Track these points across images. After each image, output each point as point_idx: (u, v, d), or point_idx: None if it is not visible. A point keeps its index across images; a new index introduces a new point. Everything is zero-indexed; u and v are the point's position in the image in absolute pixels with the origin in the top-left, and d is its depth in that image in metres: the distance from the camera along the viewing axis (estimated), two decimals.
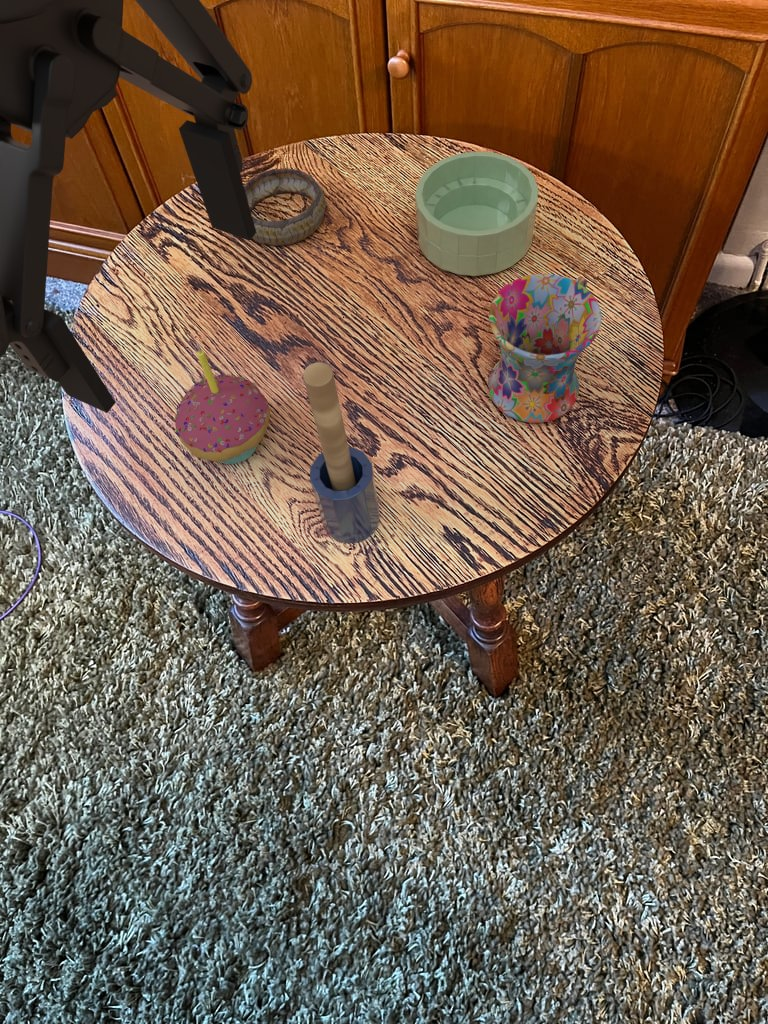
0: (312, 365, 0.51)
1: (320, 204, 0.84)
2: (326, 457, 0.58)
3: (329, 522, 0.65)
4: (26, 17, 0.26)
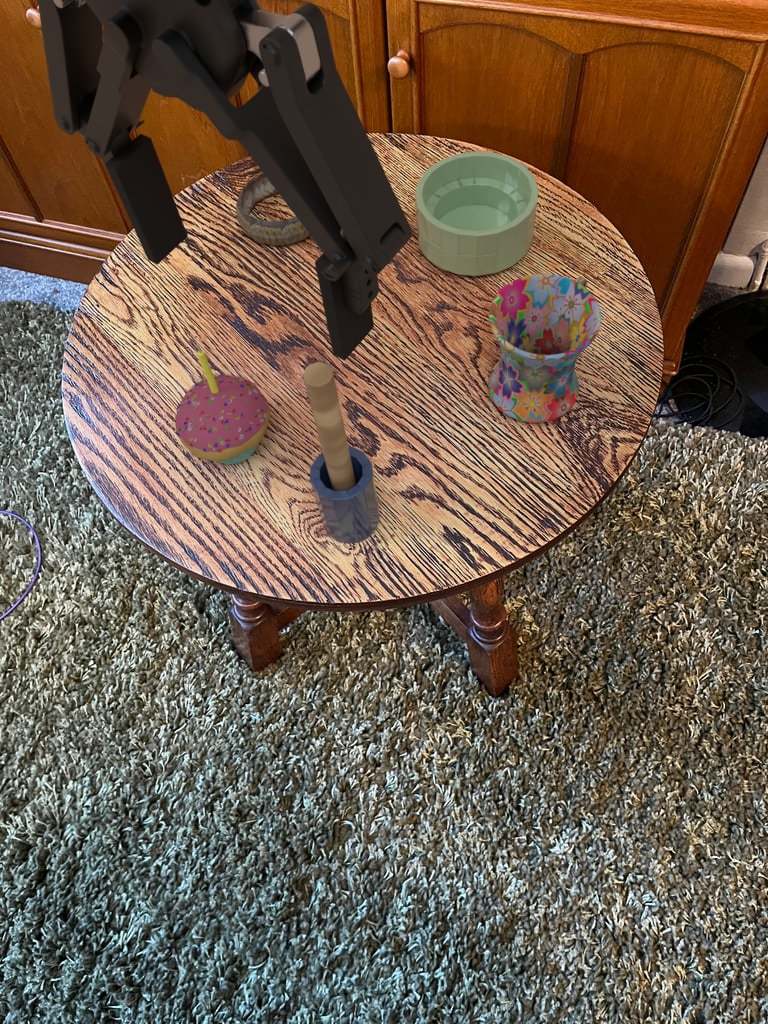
0: (312, 365, 0.51)
1: None
2: (326, 457, 0.58)
3: (329, 522, 0.65)
4: None
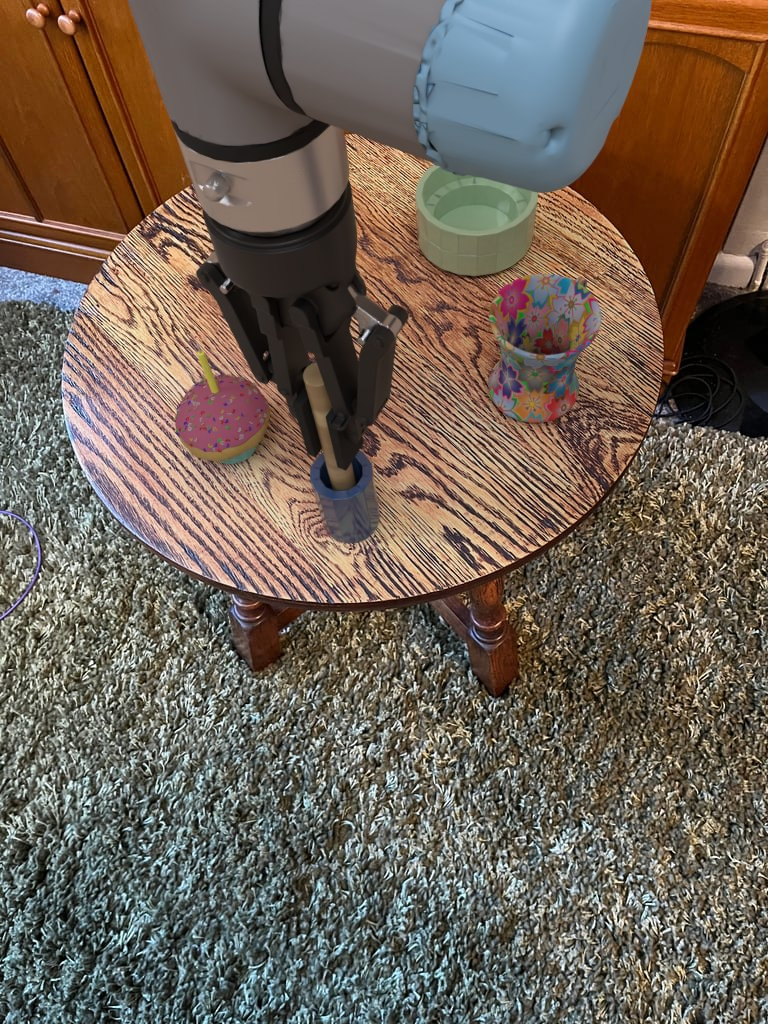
0: (312, 365, 0.51)
1: None
2: (326, 457, 0.58)
3: (329, 522, 0.65)
4: None
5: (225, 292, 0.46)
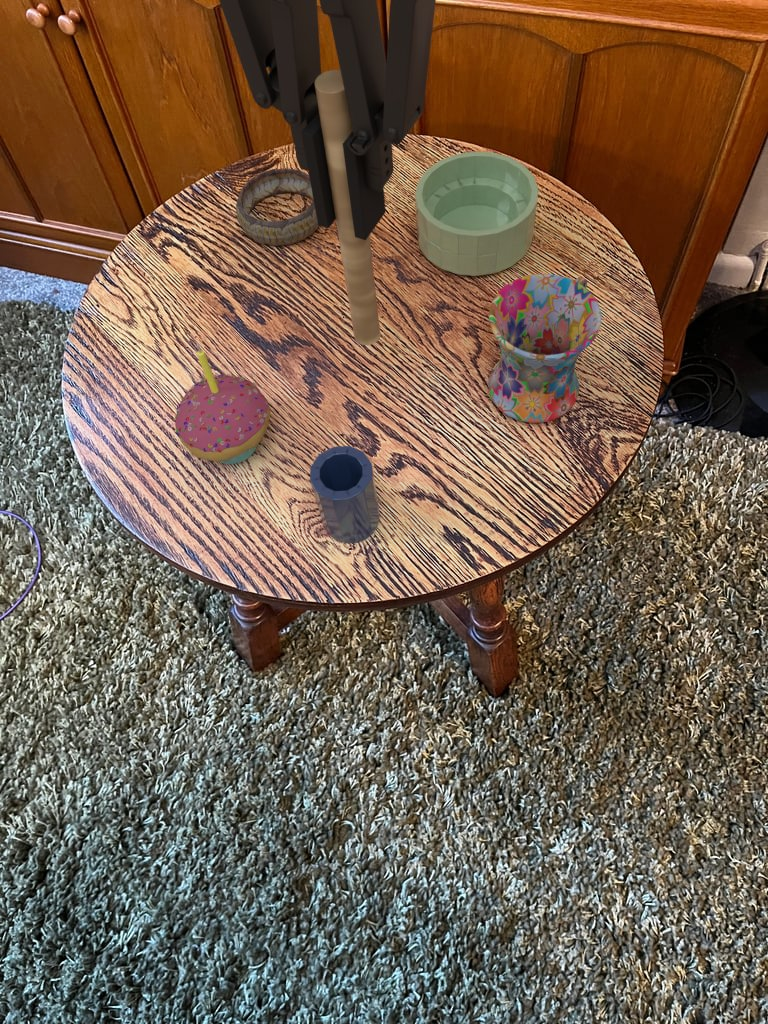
0: (325, 73, 0.41)
1: None
2: (341, 228, 0.48)
3: (329, 522, 0.65)
4: None
5: None
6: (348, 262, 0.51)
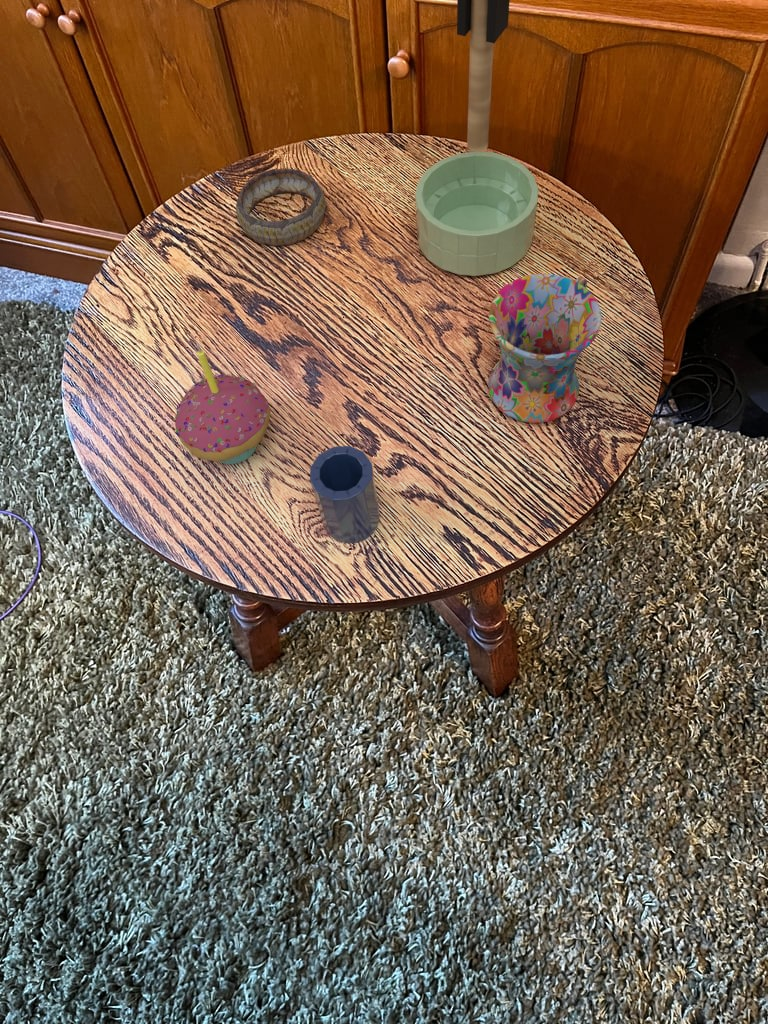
0: None
1: (320, 204, 0.84)
2: (474, 35, 0.64)
3: (329, 522, 0.65)
4: None
5: None
6: (475, 68, 0.66)
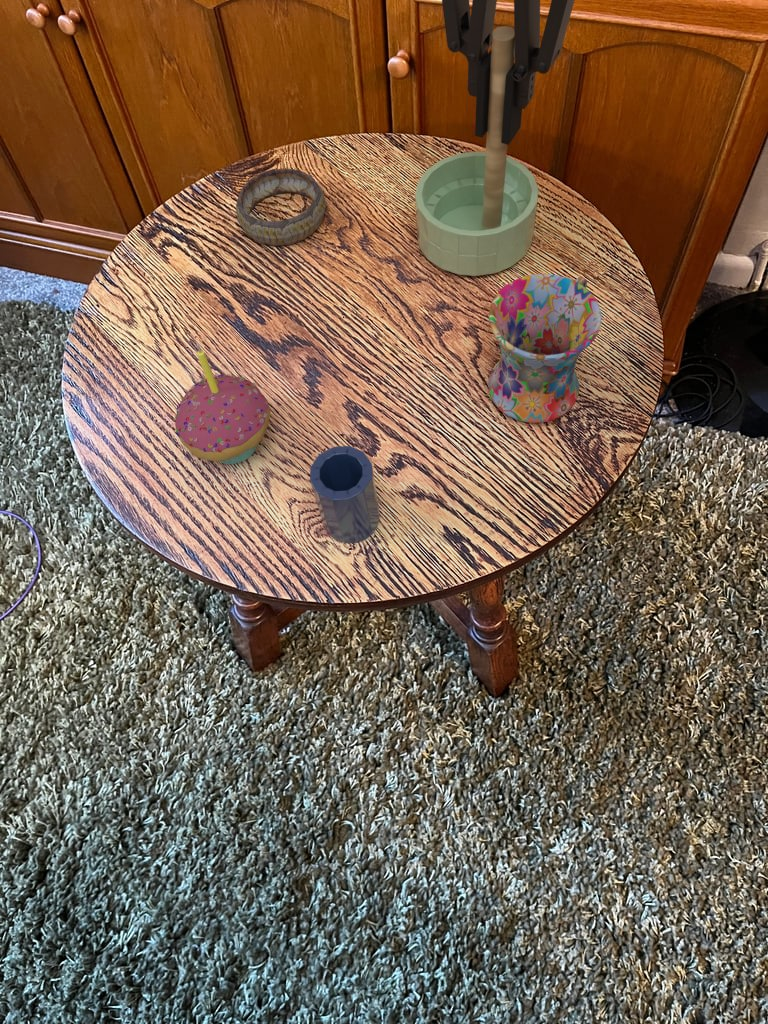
0: (498, 28, 0.64)
1: (320, 204, 0.84)
2: (490, 137, 0.72)
3: (329, 522, 0.65)
4: None
5: None
6: (491, 163, 0.74)
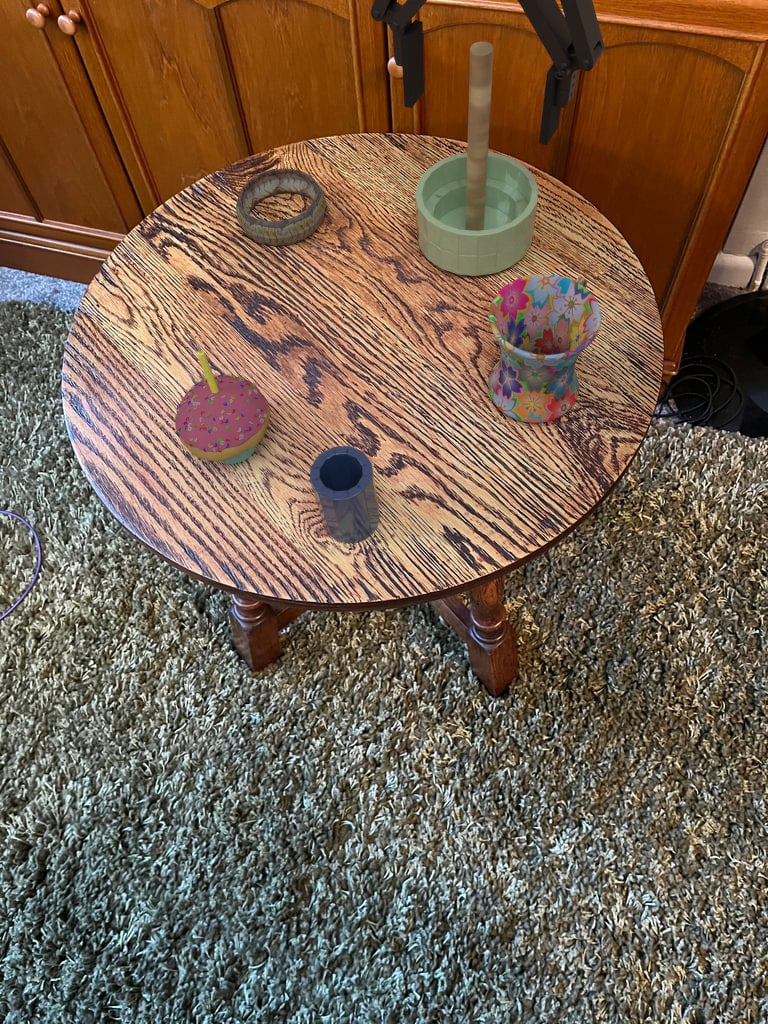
0: (476, 43, 0.66)
1: (320, 204, 0.84)
2: (471, 148, 0.73)
3: (329, 522, 0.65)
4: None
5: None
6: (472, 173, 0.76)
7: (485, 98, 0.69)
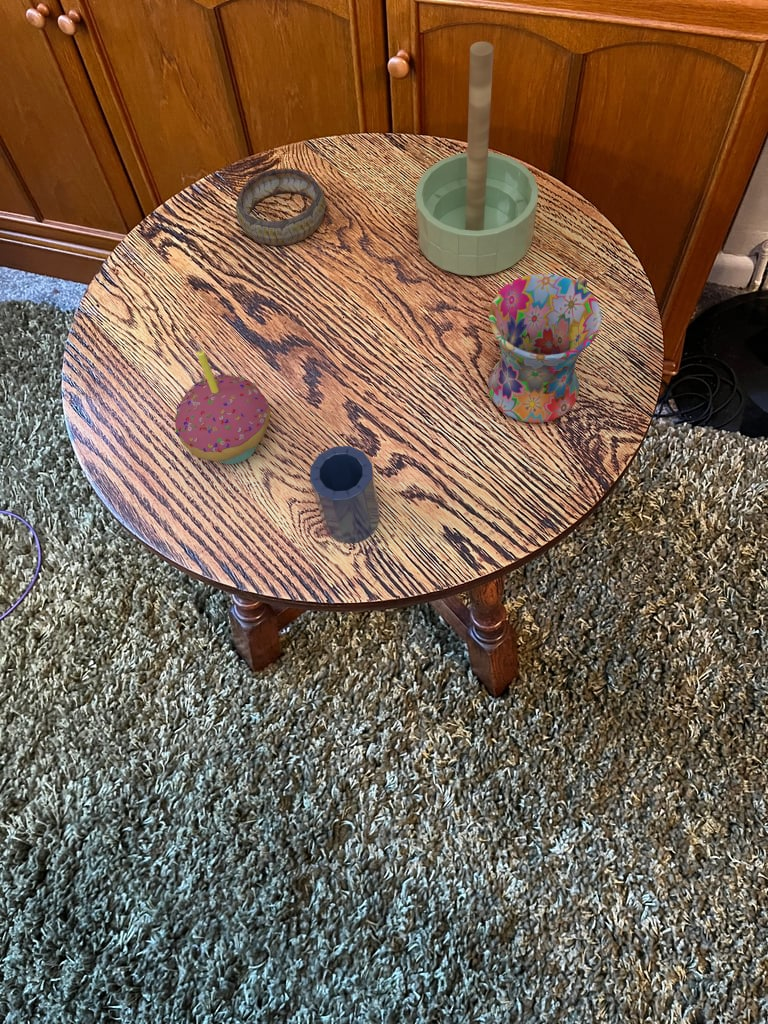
0: (476, 43, 0.66)
1: (320, 204, 0.84)
2: (471, 148, 0.73)
3: (329, 522, 0.65)
4: None
5: None
6: (472, 173, 0.76)
7: (485, 98, 0.69)
